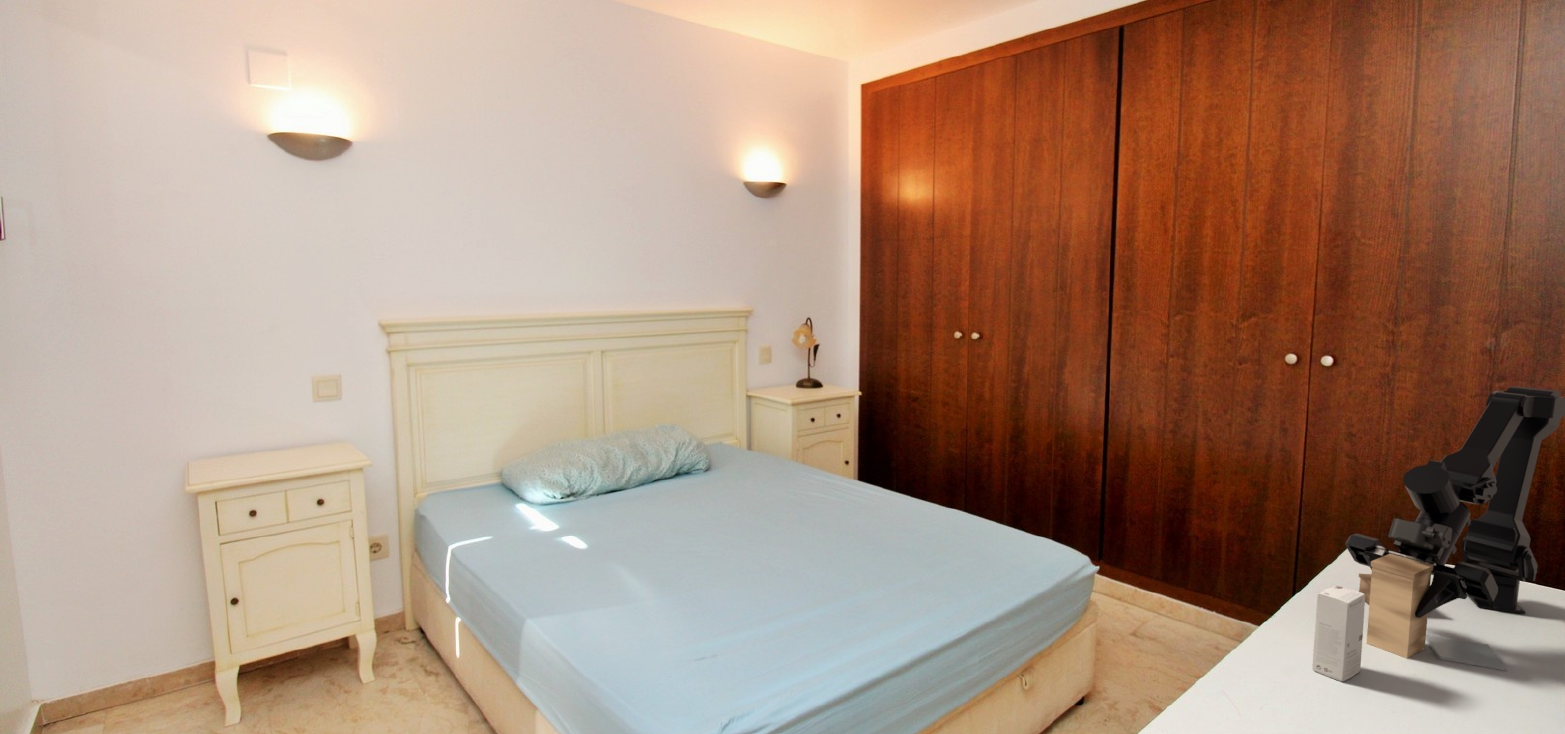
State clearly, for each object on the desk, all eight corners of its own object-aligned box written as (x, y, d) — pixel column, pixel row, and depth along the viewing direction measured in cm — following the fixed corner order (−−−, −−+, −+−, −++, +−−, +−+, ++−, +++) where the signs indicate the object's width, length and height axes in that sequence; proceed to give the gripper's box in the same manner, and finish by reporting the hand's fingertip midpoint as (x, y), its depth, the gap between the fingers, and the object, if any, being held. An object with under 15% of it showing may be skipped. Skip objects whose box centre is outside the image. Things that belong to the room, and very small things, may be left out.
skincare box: (1343, 683, 112) (1351, 603, 110) (1309, 670, 115) (1315, 592, 114) (1361, 671, 115) (1369, 593, 113) (1327, 658, 119) (1334, 583, 117)
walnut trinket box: (1356, 597, 141) (1358, 573, 140) (1395, 599, 140) (1398, 575, 139) (1376, 612, 135) (1379, 587, 134) (1418, 615, 134) (1420, 590, 133)
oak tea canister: (1384, 633, 126) (1390, 553, 124) (1426, 648, 121) (1433, 565, 119) (1364, 642, 124) (1370, 561, 122) (1407, 658, 118) (1414, 574, 116)
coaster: (1423, 636, 125) (1424, 634, 125) (1487, 647, 122) (1487, 644, 122) (1439, 659, 118) (1439, 655, 118) (1507, 670, 115) (1507, 667, 115)
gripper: (1356, 486, 129) (1313, 561, 126) (1498, 517, 113) (1454, 604, 109) (1376, 524, 134) (1336, 597, 130) (1515, 559, 118) (1474, 644, 114)
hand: (1394, 608), depth 121 cm, fingers closed on oak tea canister, 5 cm apart
